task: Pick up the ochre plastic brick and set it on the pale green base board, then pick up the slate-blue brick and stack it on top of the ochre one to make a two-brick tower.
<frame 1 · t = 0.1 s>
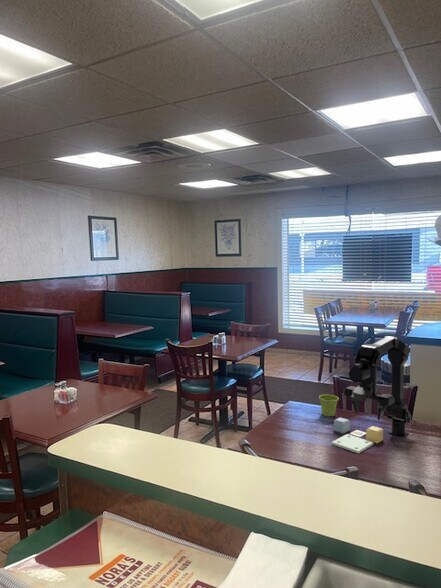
hand: (367, 416, 171), 15 cm above the table, fingers open, 9 cm apart
slate brick: (341, 430, 195), on the table
plant pot: (328, 415, 214), on the table
instruction card: (358, 433, 191), on the table
ochre brick: (374, 440, 185), on the table
base board: (352, 444, 180), on the table
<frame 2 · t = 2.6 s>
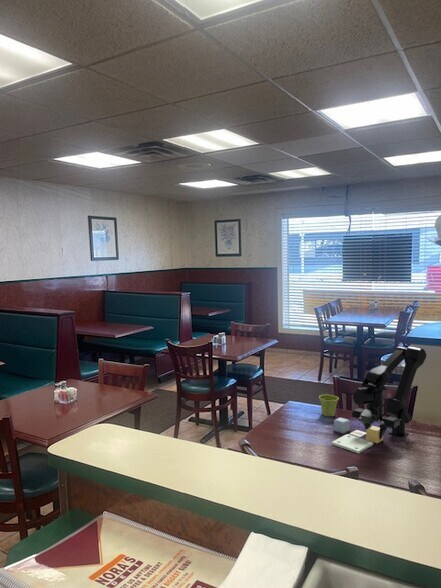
hand: (374, 437, 184), 1 cm above the table, fingers closed on ochre brick, 5 cm apart
ochre brick: (374, 439, 185), on the table, touching gripper
everything else where it was.
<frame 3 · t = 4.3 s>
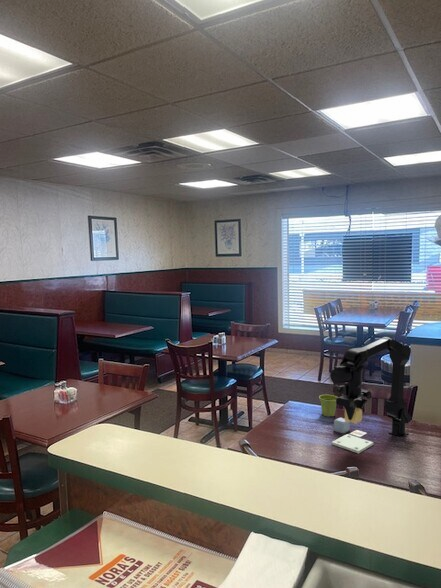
hand: (353, 418, 179), 11 cm above the table, fingers closed on ochre brick, 5 cm apart
ochre brick: (353, 420, 179), point 10 cm above the table, touching gripper
everything else where it was.
when the fingers open (3 cm above the table, at t = 6.0 s): ochre brick drops 1 cm, resting on base board.
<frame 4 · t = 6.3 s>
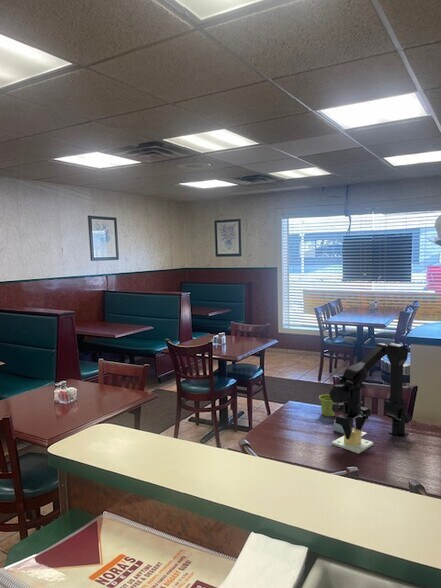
hand: (352, 436, 180), 3 cm above the table, fingers open, 8 cm apart
ochre brick: (352, 442, 180), point 1 cm above the table, touching base board
everything else where it was.
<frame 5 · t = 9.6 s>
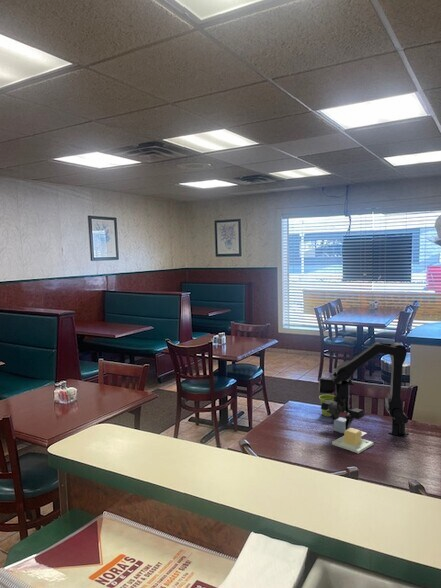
hand: (341, 428, 195), 1 cm above the table, fingers closed on slate brick, 5 cm apart
slate brick: (341, 430, 195), on the table, touching gripper
everything else where it was.
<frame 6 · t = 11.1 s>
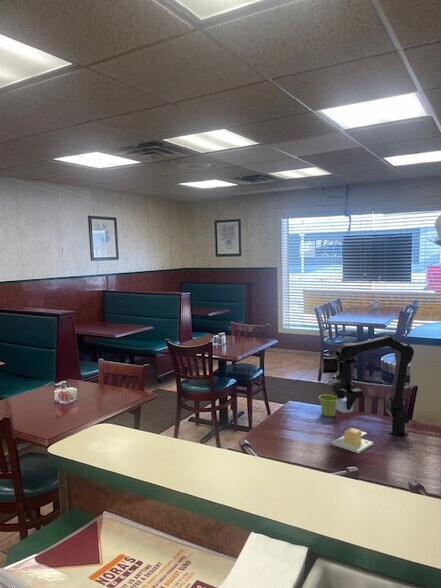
hand: (344, 408, 190), 11 cm above the table, fingers closed on slate brick, 5 cm apart
slate brick: (344, 410, 190), point 10 cm above the table, touching gripper
everything else where it was.
when the fingers open (8 cm above the table, at t = 12.8 s): slate brick drops 1 cm, resting on ochre brick.
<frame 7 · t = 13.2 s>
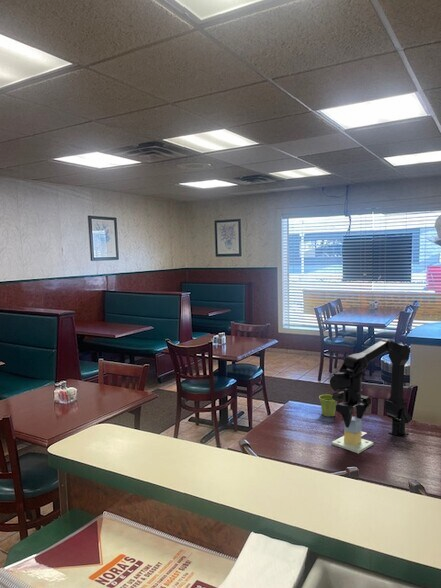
hand: (353, 424, 179), 8 cm above the table, fingers open, 9 cm apart
slate brick: (352, 430, 179), point 6 cm above the table, touching ochre brick
ochre brick: (352, 442, 180), point 1 cm above the table, touching base board, slate brick
everything else where it was.
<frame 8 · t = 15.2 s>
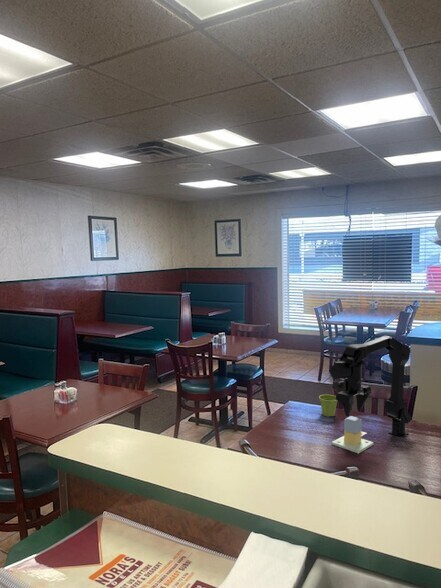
hand: (353, 413, 179), 13 cm above the table, fingers open, 9 cm apart
nothing on the table moved.
at the end: ochre brick inside the target area on the base board (0.1 cm from its centre), point 1.0 cm above the base board's base; slate brick 0.0 cm off-centre on the ochre brick, point 5.0 cm above the ochre brick's base; slate brick tilted 0° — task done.
